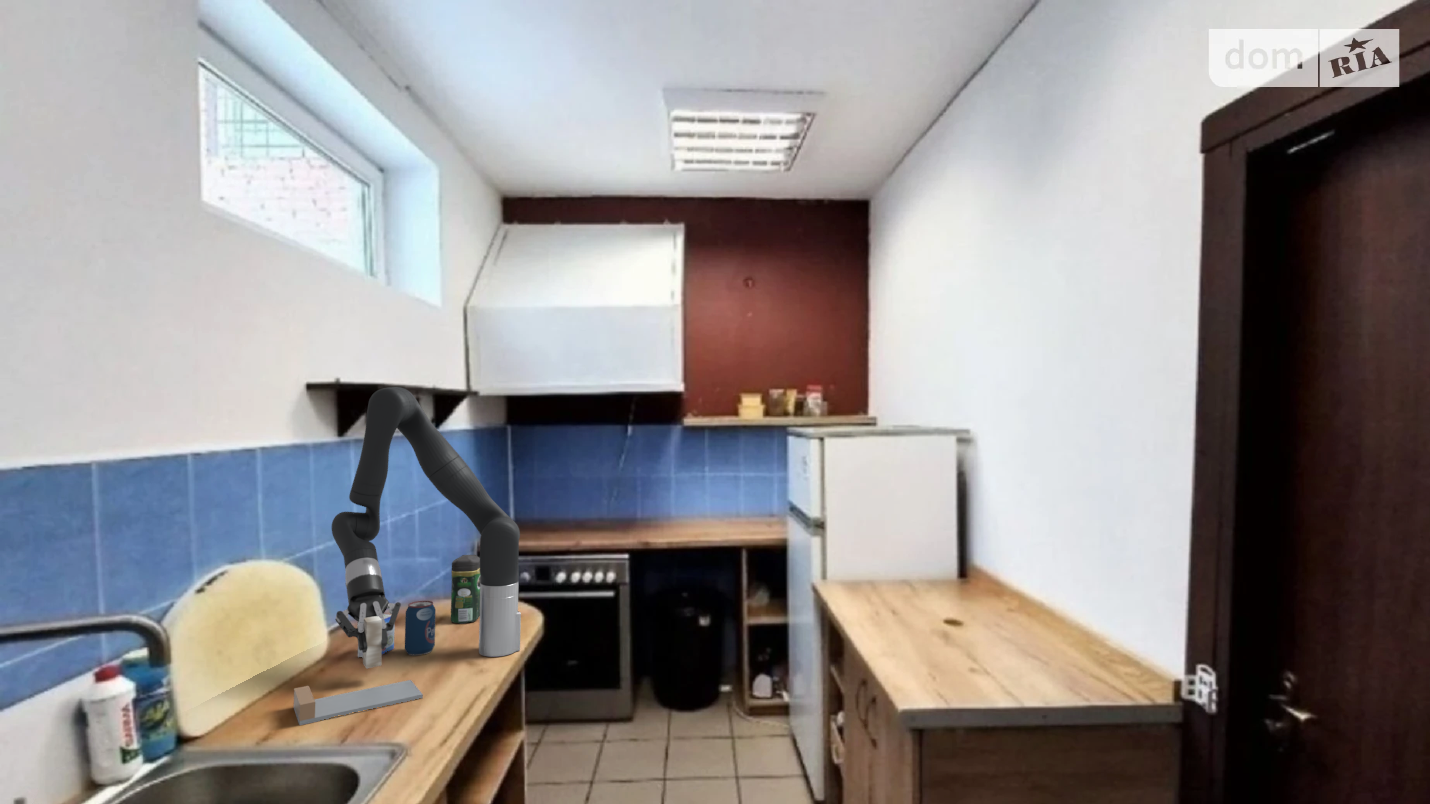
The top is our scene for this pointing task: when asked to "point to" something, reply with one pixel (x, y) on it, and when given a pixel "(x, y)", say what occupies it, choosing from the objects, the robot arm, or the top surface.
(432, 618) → the soda can
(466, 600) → the coffee jar
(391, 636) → the medicine box
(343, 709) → the underlay board
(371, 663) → the beige long rectangular block
